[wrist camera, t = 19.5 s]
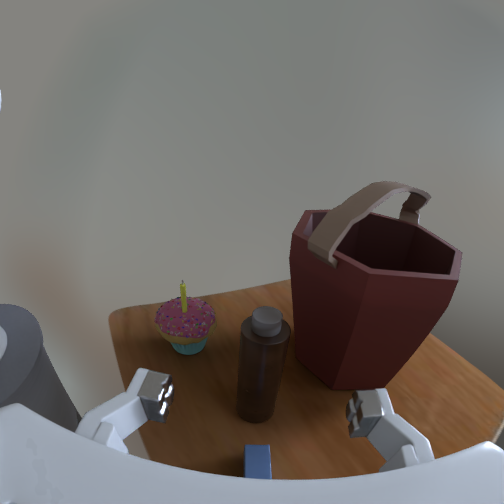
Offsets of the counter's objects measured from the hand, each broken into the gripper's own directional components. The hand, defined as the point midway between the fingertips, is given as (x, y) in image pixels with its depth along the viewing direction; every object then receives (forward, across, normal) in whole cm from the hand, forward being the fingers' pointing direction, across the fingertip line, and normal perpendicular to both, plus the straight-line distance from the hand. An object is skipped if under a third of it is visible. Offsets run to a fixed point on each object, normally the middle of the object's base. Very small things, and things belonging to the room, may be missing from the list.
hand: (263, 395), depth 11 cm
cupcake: (+22, +10, +18) cm, 30 cm away
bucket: (+23, -14, +18) cm, 32 cm away
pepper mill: (+12, 0, +18) cm, 22 cm away
